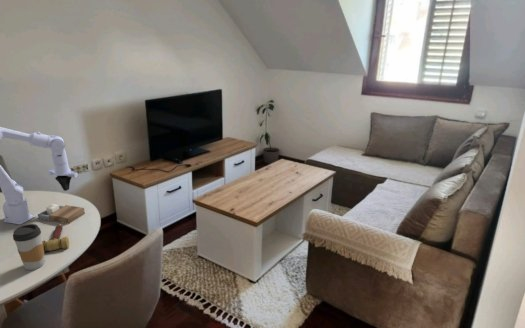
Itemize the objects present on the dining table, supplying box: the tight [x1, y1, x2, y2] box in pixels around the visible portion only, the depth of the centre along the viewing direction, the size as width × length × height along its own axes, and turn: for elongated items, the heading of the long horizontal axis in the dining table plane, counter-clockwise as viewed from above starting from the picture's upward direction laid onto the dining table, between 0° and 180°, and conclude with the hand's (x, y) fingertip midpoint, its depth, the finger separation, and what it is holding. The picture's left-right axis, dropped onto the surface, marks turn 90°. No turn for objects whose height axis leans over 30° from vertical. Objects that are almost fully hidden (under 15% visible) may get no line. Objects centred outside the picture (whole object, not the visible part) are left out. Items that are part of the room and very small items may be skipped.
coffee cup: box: [12, 223, 46, 271], centre depth 124 cm, size 8×8×15 cm
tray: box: [37, 205, 65, 222], centre depth 161 cm, size 6×10×2 cm, turn 165°
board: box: [49, 204, 86, 225], centre depth 159 cm, size 10×10×3 cm
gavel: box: [42, 224, 70, 254], centre depth 142 cm, size 21×5×10 cm
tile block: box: [45, 203, 60, 215], centre depth 161 cm, size 4×4×3 cm
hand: (66, 189), depth 163 cm, fingers closed
